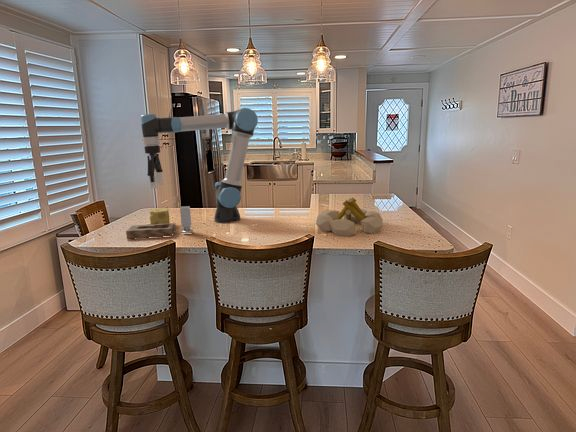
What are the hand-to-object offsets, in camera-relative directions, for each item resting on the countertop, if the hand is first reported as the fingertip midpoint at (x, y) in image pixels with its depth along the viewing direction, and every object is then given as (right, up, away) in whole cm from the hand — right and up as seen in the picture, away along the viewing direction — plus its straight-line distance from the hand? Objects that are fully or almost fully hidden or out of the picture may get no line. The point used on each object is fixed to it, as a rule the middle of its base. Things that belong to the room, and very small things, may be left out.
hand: (157, 186), depth 212 cm
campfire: (+101, -22, +1) cm, 103 cm away
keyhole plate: (-2, -26, -1) cm, 26 cm away
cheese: (-3, -22, +16) cm, 28 cm away
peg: (+16, -25, +1) cm, 29 cm away
